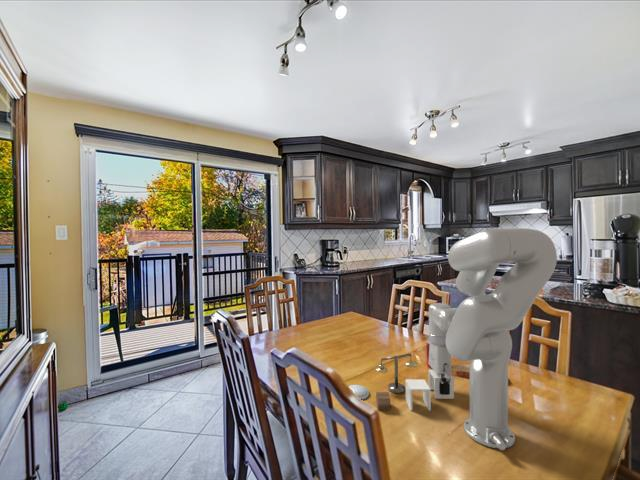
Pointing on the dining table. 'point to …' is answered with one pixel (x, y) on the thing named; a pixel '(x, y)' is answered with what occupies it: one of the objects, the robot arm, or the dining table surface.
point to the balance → (395, 386)
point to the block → (383, 400)
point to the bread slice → (462, 371)
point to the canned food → (428, 353)
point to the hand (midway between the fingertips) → (440, 388)
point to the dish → (360, 391)
